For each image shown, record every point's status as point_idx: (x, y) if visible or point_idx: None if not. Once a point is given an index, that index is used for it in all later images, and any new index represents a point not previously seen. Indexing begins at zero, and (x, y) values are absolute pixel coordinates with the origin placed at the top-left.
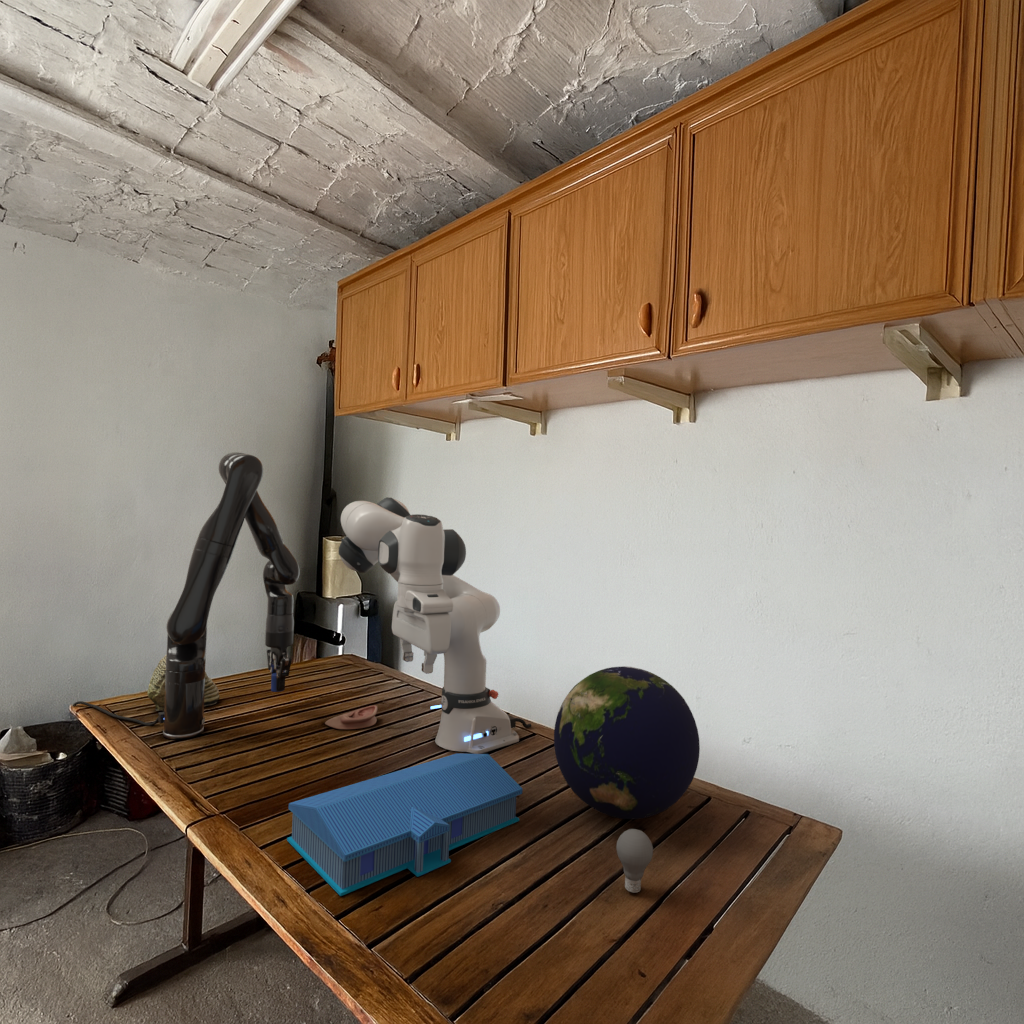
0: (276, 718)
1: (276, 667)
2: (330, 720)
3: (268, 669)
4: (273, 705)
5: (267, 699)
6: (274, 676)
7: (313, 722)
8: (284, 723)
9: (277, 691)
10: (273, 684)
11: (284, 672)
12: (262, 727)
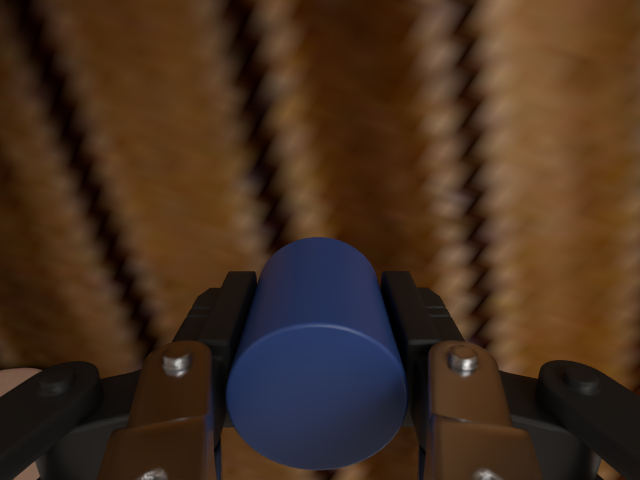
0: (255, 196)
1: (102, 466)
2: None
3: (581, 365)
4: (493, 257)
5: (624, 264)
6: (261, 334)
7: (100, 333)
8: (147, 206)
9: (260, 274)
10: (281, 275)
11: (57, 476)
12: (128, 67)
